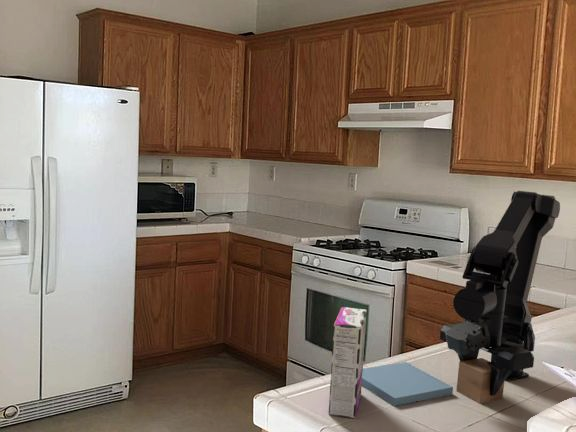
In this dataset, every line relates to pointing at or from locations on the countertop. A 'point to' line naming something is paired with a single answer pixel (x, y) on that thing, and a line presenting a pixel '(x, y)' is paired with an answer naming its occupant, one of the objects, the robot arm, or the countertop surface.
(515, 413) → the countertop surface
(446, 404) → the countertop surface
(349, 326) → the candy bar box
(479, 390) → the walnut cube
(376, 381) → the slate board
